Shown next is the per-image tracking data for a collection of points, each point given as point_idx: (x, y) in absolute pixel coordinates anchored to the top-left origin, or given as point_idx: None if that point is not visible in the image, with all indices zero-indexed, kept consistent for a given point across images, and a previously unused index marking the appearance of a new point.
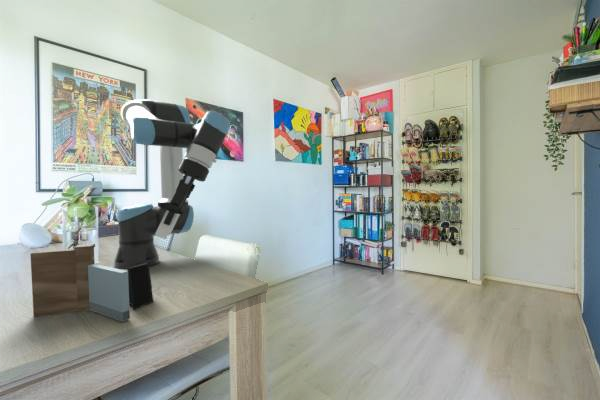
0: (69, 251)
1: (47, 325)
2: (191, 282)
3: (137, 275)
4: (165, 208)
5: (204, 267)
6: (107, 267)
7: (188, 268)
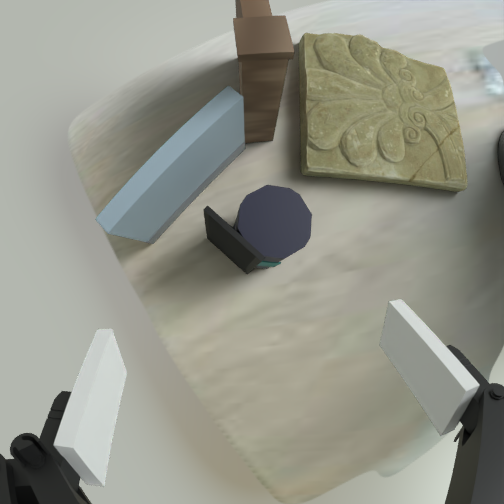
0: (242, 17)
1: (186, 95)
2: (370, 350)
3: (225, 235)
4: (20, 441)
5: (476, 360)
6: (176, 151)
7: (483, 317)
